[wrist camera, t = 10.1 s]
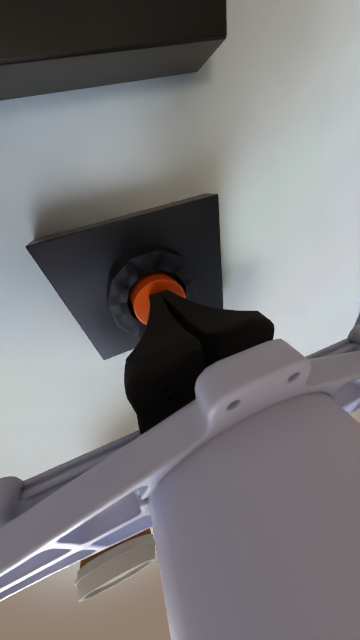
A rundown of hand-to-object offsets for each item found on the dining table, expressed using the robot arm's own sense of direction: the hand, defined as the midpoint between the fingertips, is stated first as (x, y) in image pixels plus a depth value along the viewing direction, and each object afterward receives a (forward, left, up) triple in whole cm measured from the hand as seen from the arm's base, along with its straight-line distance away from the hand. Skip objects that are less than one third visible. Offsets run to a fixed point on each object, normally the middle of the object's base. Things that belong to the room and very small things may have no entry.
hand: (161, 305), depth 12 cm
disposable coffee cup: (-15, -29, -4) cm, 33 cm away
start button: (0, 0, -2) cm, 2 cm away
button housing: (0, 0, -4) cm, 4 cm away
